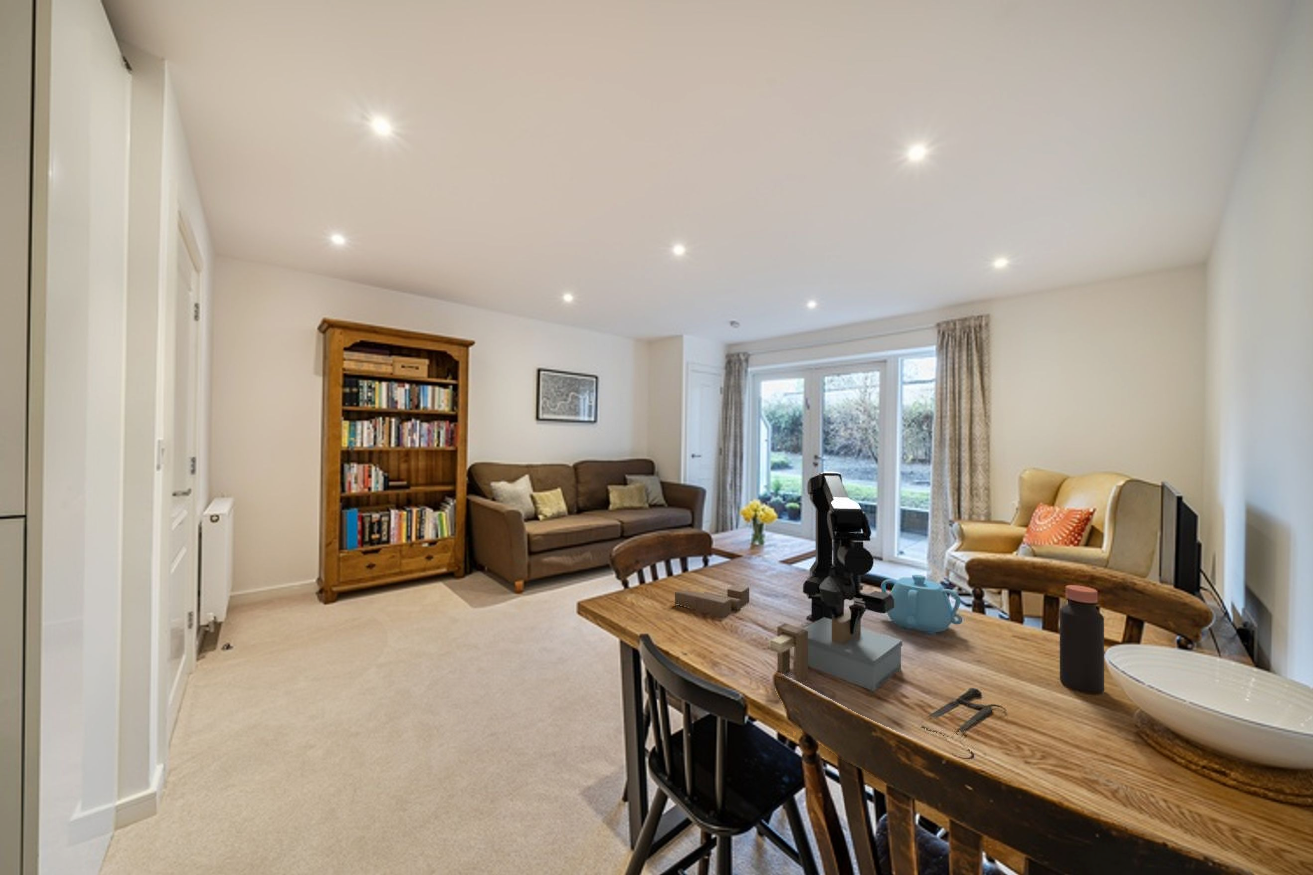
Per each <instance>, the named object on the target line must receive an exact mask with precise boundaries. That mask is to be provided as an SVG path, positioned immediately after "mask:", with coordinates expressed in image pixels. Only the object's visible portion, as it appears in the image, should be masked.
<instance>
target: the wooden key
mask: <svg viewBox="0 0 1313 875" xmlns="http://www.w3.org/2000/svg"><path fill="white" fill-rule="evenodd" d="M794 646H795V636H793V635H790V634H787V633H784V634H782V635H780V636H778V637H777V636H776V637H774V638H772V639H770V651H773V652H775V653H777V652H778V653H780V654H781V653H783V652H785V651H787V650H788V649H790V650H791V649H792V648H794Z"/></svg>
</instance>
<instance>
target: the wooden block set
mask: <svg viewBox="0 0 1313 875" xmlns="http://www.w3.org/2000/svg"><path fill="white" fill-rule="evenodd" d="M748 601H749V602H750V587H749V586H742V585H734V584H733V585H731V586H730V587H727V589H726V595H721V594H716V593H712V592H709V591H704V592H699V591H698V592H697V591H694V590H689V589H683V590H682V589H680V590H679V589H678V590H676V591H675V592H674V605H675V604H679V605H682V606H686V607H689V608H692V609H691V610H693V609H696V610H698V611H702V612H705V613H704V614H706V613H708V614H707V615H710V614H712V615H711V616H714V615H715V617H718V616H719V617H718V618H722V617H723V618H724V619H725V618H726V617H728V616H729V615H730V613H731V611H732V610H733V609H734V610H733V611H741V608H742V605H743V604H744V605H745V603H746V602H747V603H749V602H748ZM747 603H746V604H747ZM744 605H743V606H744ZM689 608H688V609H689ZM696 610H695V611H696ZM698 611H697V612H698ZM702 612H701V613H702Z"/></svg>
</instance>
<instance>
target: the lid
mask: <svg viewBox="0 0 1313 875" xmlns="http://www.w3.org/2000/svg"><path fill="white" fill-rule="evenodd" d="M861 620H862V619H861ZM861 620H860V622H859V624H858V627H857V629H856V631H855V633H854V634H853V635H852V634H851V632H850V621H851V611H850V610H848V611H847V612H844V614H843V615H841V616H839V617H837V618H835V619H833V620H832V619H828V618H825V617H824V618H822V619H820V620H818V621H814V622H812V623H810V624H808V625H806V626H804V627H802V628H801V629H804V630H807V631H808V644H810V645H813V646H816V647H819V648H821V649H824V650H827V651H830V652H833V653H836V654H839V655H842V656H844V657H847V658H850V659H853V660H856V661H859V662H862V663H865V664H868V665H870V666H873V667H875V666H876V665H878V664H879V663H880V662H882V661H883V660H884V659H885V658H887V657H888V656H889V655H891V654H892V653H893V652H895V651H896V650H897V649H899V648H900V647H901V648H902V646H903V640H902V639H899V638H896V637H893V636H889V635H886V634H884V633H883V634H882V633H879V632H875V631H872V630H868V629H865V628H862V626H861V625H862V623H861V622H862V621H861Z"/></svg>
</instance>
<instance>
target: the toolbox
mask: <svg viewBox="0 0 1313 875" xmlns="http://www.w3.org/2000/svg"><path fill="white" fill-rule="evenodd" d="M776 629H777V632H776V633H777V636H776V637H778V636H780V635H782V634H784V633H787V634H790V635H793V636H795V646H794V647H793V661H795V679H797V680H798V681H802V680H804V679H805V678H806V677H807V678H808V676H809V668H812V669H814V670H818V671H819V672H820V671H821V672H823V673H826V674H827V675H828V674H829V675H831V676H833V677H836V678H839V679H841V680H844V681H847V682H849V683H851V684H855V685H857V686H859V687H862V688H865V689H867V690H870V691H873V692H875V691H876V690H877V689H878V688H879V687H880V686H882V685H883V684H884V683H886V682H887V681H888V680H889V679H891V677H893V676H894V675H895V674H896V673H897V672H899V670H902V646H901V647H900V648H899V649H897V650H896V651H895V652H893V653H892V654H891V655H889V656H888V657H887V658H885V659H884V660H883V661H882V662H880V663H879V664H878V665H876V666H875V667H873V666H870V665H868V664H865V663H862V662H859V661H856V660H853V659H850V658H847V657H844V656H842V655H839V654H836V653H833V652H830V651H827V650H824V649H821V648H819V647H816V646H813V645H810V644H808V631H807V630H804V629H802V628H800V627H798V626H796V625H791V624H788V623H782V624H781V625H779V626H777V628H776ZM776 653H777V672H779V671H780V672H779V673H781V672H782V674H783V673H784V672H786V671H788V670H790V669H791V648H790V649H788V650H787V651H785V652H783V653H781V654H780V653H778V652H776Z"/></svg>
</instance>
